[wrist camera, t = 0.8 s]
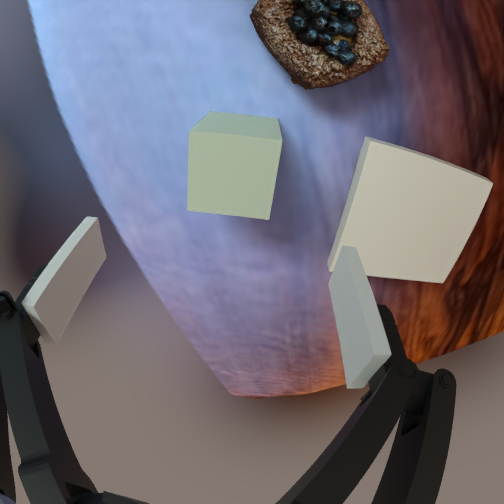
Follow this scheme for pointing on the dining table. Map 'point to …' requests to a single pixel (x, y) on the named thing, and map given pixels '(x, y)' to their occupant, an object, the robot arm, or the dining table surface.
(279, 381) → the dining table surface
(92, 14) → the dining table surface
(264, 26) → the pastry
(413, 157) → the serving stand
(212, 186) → the sage block
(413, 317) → the dining table surface
